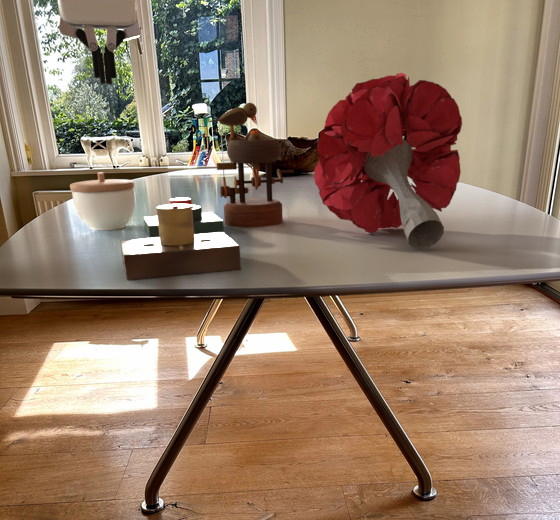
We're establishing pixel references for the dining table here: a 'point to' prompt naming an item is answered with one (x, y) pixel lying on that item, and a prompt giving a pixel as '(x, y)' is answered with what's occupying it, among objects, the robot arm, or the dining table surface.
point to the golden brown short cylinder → (175, 224)
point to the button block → (201, 223)
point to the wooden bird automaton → (254, 152)
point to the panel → (179, 256)
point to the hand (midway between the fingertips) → (106, 83)
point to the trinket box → (104, 202)
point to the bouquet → (391, 157)
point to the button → (181, 201)
